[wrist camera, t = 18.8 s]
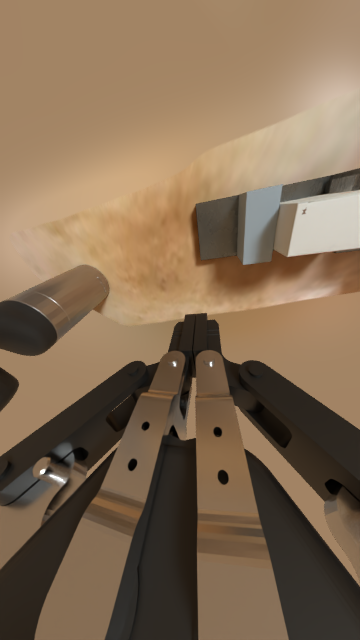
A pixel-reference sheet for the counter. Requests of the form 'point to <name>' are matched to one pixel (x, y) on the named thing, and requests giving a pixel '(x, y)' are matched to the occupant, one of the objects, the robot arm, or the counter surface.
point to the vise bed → (222, 214)
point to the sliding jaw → (257, 224)
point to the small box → (318, 224)
